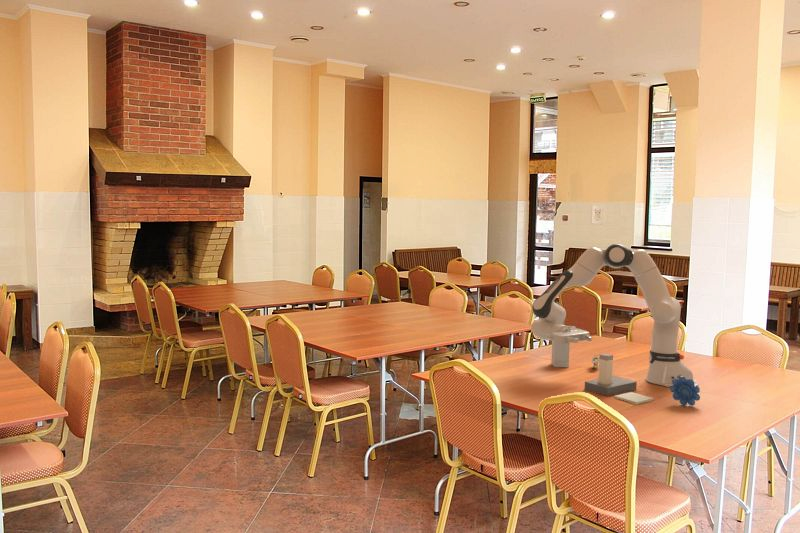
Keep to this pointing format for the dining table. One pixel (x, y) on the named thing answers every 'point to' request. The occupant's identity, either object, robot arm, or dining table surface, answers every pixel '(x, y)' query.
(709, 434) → the dining table surface
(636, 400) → the sage pad
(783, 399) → the dining table surface
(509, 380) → the dining table surface
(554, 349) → the supplement box
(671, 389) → the grapes
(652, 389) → the dining table surface
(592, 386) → the block
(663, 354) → the robot arm
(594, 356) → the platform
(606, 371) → the cream plug
